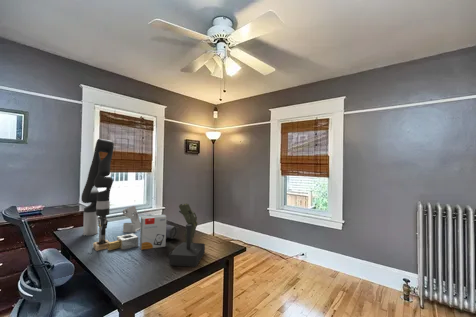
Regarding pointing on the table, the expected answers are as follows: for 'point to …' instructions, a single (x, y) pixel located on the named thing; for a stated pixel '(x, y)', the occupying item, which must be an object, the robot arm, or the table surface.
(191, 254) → the joystick
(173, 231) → the bluetooth speaker
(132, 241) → the socket block
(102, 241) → the grey metal cylinder
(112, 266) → the table surface
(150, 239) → the hard drive box
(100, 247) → the wooden square frame
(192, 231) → the olive green upright piece
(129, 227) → the phone holder
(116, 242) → the bar
